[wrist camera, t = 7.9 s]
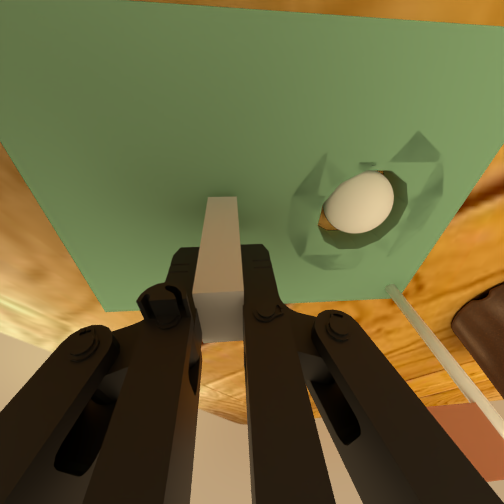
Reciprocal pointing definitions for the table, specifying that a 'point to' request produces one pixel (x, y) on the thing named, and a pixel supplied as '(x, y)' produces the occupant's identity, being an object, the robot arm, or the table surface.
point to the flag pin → (462, 405)
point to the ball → (360, 202)
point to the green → (244, 134)
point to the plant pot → (484, 334)
